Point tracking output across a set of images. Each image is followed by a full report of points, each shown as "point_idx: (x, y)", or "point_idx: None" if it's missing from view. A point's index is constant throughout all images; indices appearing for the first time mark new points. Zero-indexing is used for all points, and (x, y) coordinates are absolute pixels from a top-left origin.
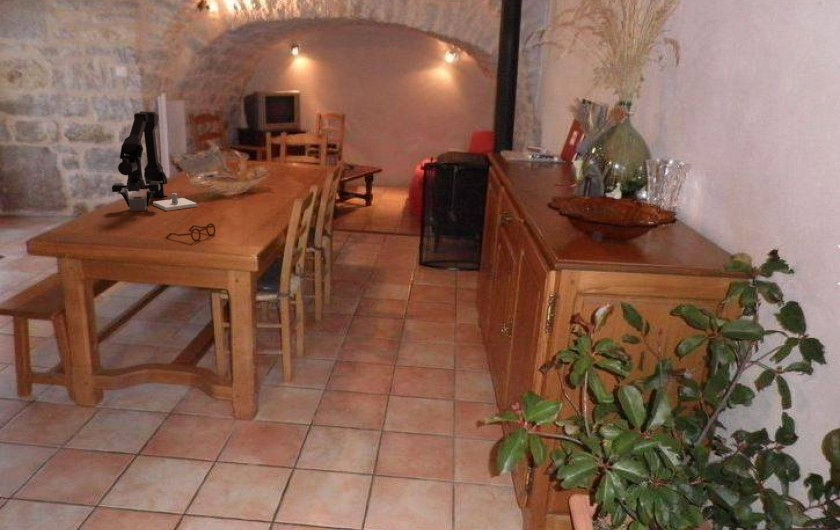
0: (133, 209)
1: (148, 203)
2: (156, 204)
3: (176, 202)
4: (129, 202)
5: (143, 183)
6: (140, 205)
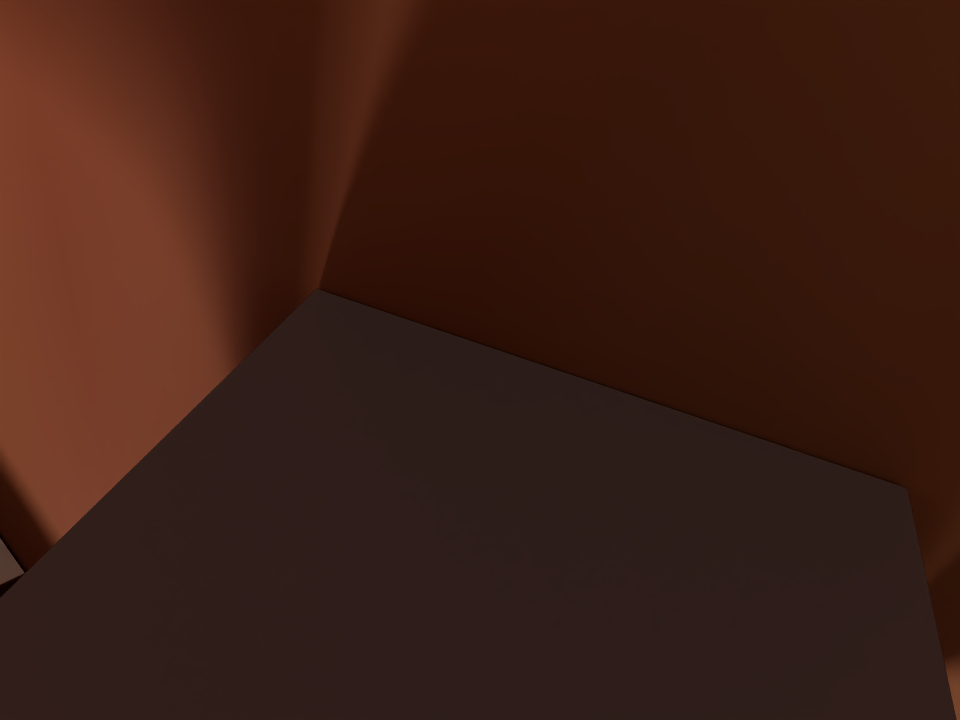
0: (757, 473)
1: None
2: None
3: None
4: None
5: None
6: (378, 477)
